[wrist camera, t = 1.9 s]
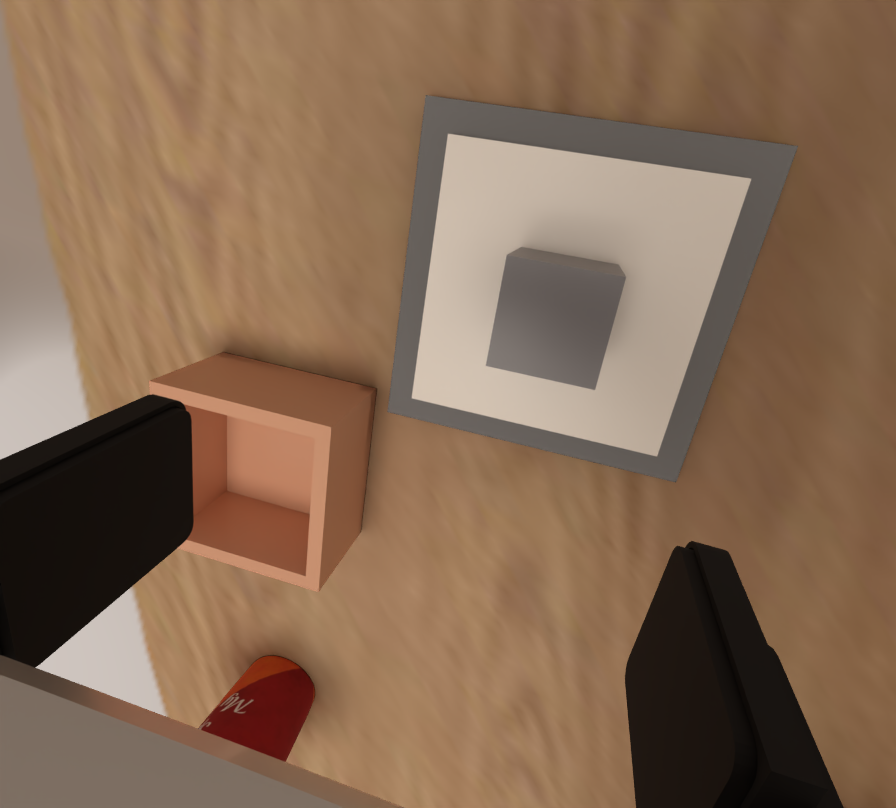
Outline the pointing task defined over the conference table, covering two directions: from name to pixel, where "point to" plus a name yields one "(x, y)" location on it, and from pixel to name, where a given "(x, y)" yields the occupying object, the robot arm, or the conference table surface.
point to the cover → (570, 287)
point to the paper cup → (264, 707)
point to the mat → (607, 140)
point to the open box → (274, 464)
